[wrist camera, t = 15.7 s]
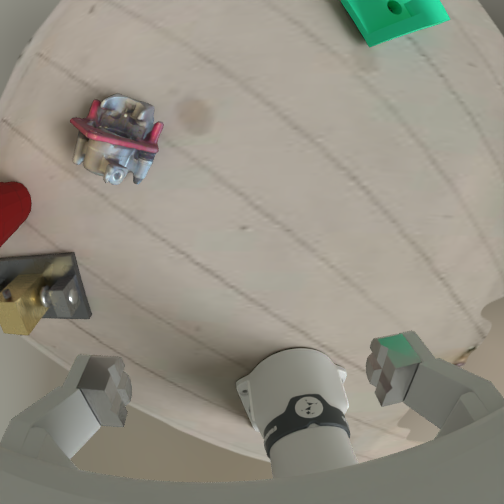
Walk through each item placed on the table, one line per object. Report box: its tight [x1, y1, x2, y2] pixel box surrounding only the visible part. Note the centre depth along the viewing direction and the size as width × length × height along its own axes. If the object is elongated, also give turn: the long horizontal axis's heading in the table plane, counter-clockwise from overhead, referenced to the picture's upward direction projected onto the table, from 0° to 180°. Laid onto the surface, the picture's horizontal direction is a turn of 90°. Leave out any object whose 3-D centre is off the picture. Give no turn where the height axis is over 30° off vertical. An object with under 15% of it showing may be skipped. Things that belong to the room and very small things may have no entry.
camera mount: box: [341, 0, 450, 47], centre depth 23 cm, size 12×8×10 cm, turn 120°
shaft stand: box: [0, 252, 92, 319], centre depth 37 cm, size 10×17×5 cm, turn 92°
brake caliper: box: [70, 93, 164, 185], centre depth 29 cm, size 11×10×11 cm
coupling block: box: [0, 274, 49, 335], centre depth 34 cm, size 7×5×8 cm
